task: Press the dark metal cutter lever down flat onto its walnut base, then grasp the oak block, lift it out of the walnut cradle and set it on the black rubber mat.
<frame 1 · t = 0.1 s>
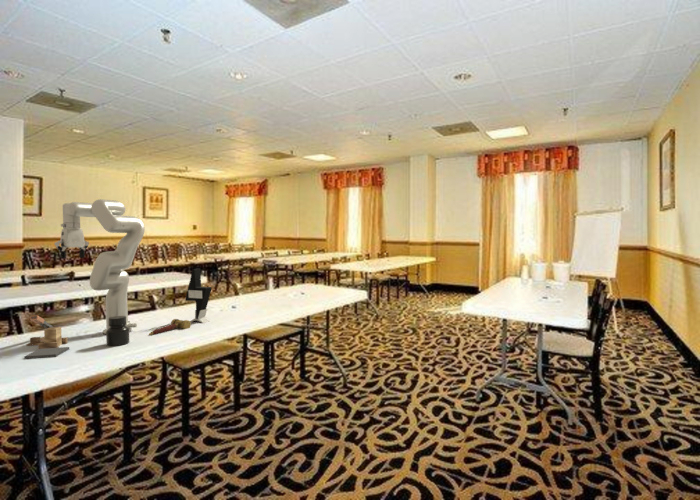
hand: (72, 258, 210), 37 cm above the table, tool pointing down, fingers open, 9 cm apart
block: (53, 346, 173), on the table
lever base: (52, 336, 191), on the table
cradle: (53, 346, 173), on the table
mat: (47, 353, 161), on the table
ink bottle: (118, 344, 176), on the table
gavel: (167, 332, 200), on the table
award: (199, 321, 222), on the table
cutter lever: (42, 322, 182), point 8 cm above the table, hinge at 30.0°
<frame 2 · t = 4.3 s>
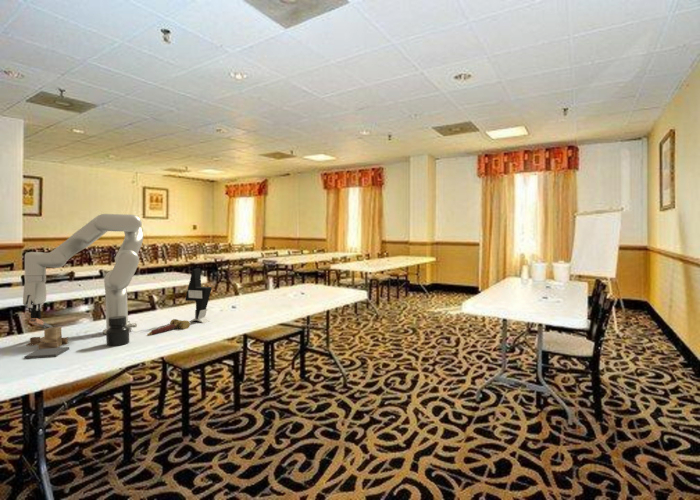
hand: (35, 319, 178), 11 cm above the table, tool pointing down, fingers closed
cutter lever: (41, 324, 182), point 8 cm above the table, hinge at 25.0°, touching gripper
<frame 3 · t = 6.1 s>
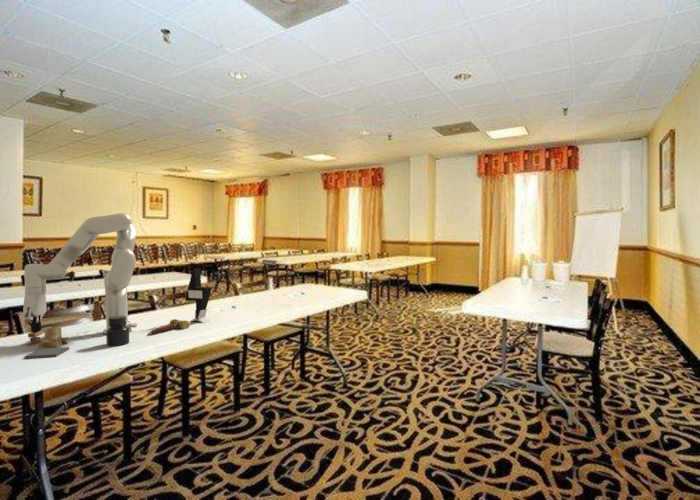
hand: (36, 330, 179), 6 cm above the table, tool pointing down, fingers closed
cutter lever: (41, 331, 181), point 5 cm above the table, hinge at 0.1°, touching gripper
everything else where it was.
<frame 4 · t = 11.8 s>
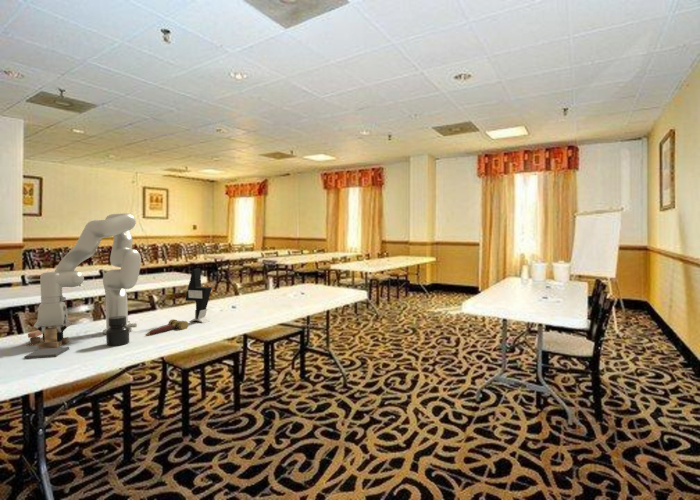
hand: (53, 340, 173), 2 cm above the table, tool pointing down, fingers closed on block, 4 cm apart
block: (53, 346, 173), on the table, touching gripper
cutter lever: (41, 331, 181), point 5 cm above the table, hinge at -0.1°
when the fingers open (5 cm above the table, at t = 18.1 s): block drops 1 cm, resting on mat.
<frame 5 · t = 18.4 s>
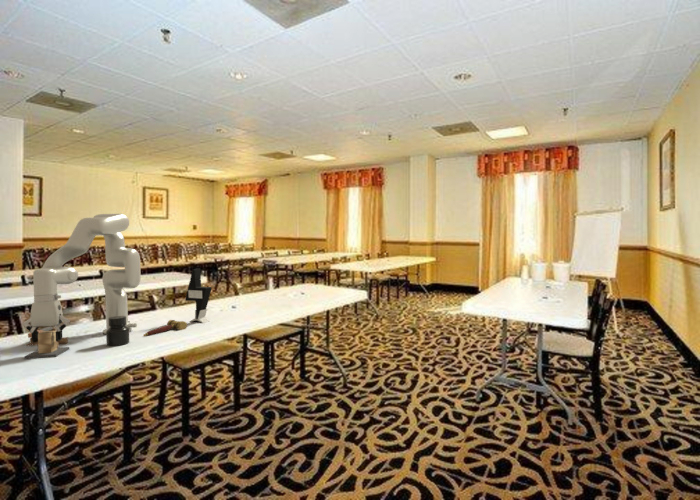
hand: (47, 340, 161), 5 cm above the table, tool pointing down, fingers open, 7 cm apart
block: (47, 351, 161), point 1 cm above the table, touching mat
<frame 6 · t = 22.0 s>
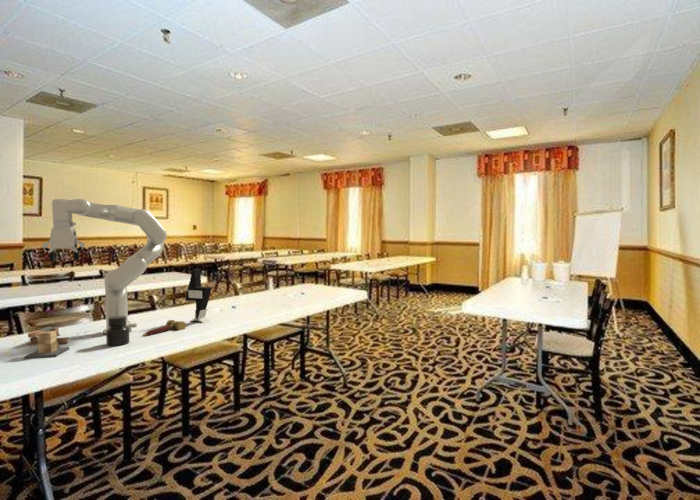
hand: (64, 261, 186), 37 cm above the table, tool pointing down, fingers open, 9 cm apart
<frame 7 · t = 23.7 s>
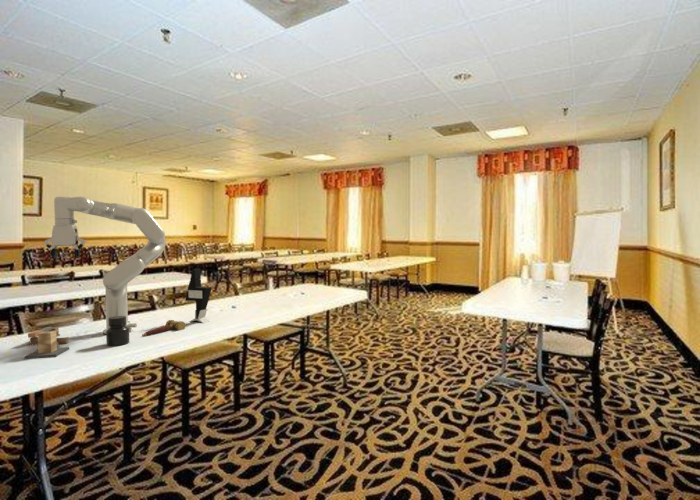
hand: (65, 258, 189), 38 cm above the table, tool pointing down, fingers open, 9 cm apart
at the end: cutter lever at +0° (first picture: +30°); block inside the target area on the mat (0.1 cm from its centre), point 1.0 cm above the mat's base; block tilted 0° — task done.
